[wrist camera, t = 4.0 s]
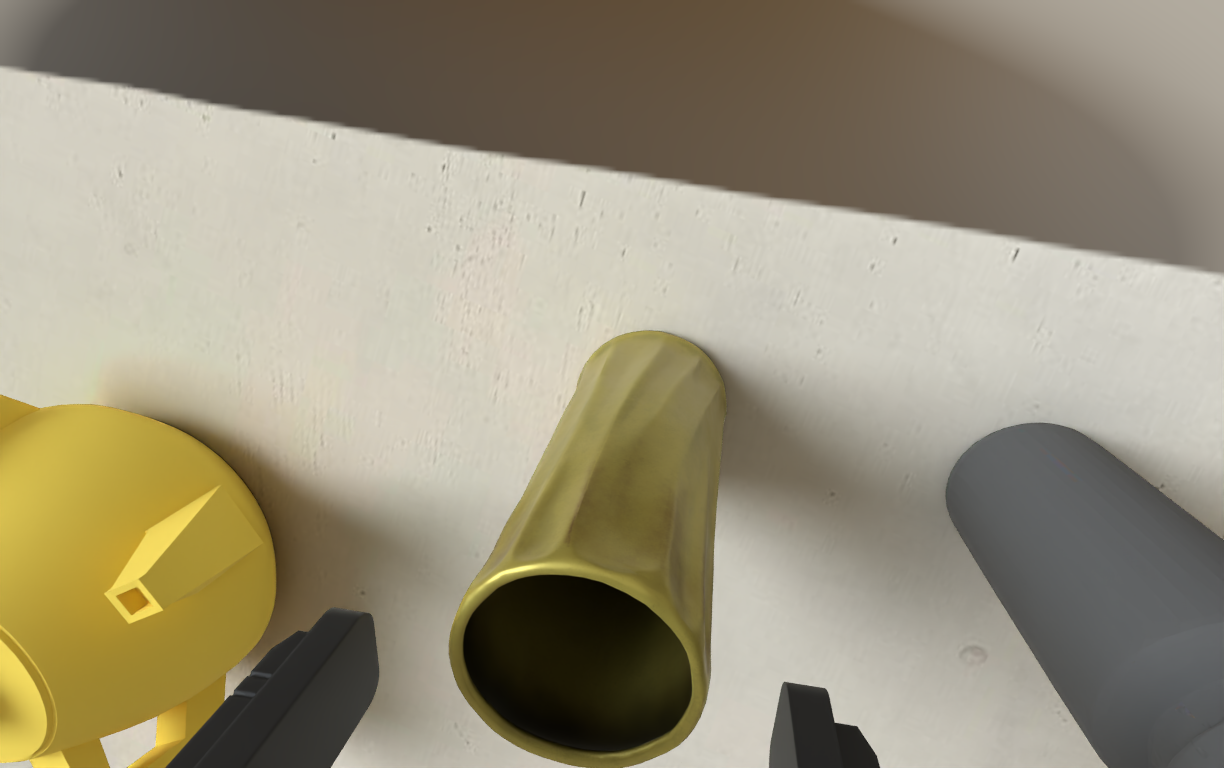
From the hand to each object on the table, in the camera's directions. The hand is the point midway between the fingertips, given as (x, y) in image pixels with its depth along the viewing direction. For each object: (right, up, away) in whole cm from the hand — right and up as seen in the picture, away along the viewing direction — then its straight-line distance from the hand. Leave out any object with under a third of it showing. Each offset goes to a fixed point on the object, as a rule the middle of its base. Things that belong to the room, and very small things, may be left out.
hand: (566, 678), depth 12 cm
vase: (+2, +5, +14) cm, 15 cm away
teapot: (-23, -2, +21) cm, 31 cm away
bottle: (+17, +2, +12) cm, 21 cm away
